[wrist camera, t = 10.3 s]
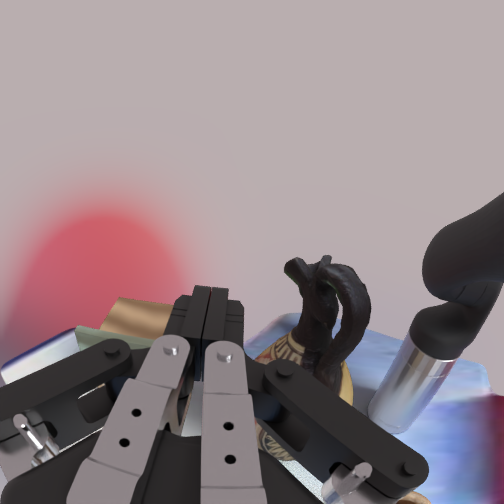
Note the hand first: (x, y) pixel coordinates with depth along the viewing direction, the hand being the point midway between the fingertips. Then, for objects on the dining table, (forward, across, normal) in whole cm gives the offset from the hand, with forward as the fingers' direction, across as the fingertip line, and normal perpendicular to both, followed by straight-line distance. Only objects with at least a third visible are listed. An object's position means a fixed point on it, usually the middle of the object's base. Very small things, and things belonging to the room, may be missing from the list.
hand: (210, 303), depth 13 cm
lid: (+21, +12, +22) cm, 33 cm away
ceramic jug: (+12, -10, +32) cm, 36 cm away
